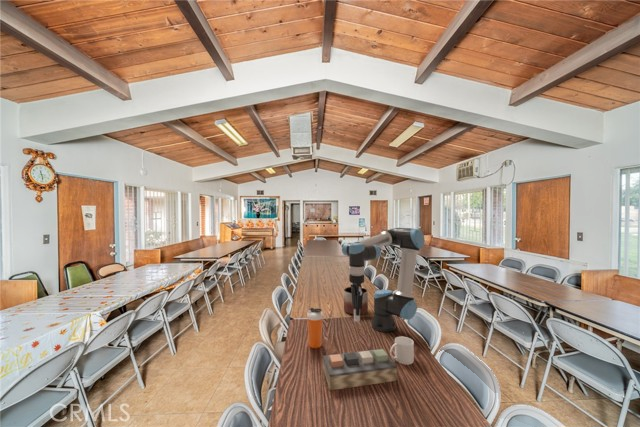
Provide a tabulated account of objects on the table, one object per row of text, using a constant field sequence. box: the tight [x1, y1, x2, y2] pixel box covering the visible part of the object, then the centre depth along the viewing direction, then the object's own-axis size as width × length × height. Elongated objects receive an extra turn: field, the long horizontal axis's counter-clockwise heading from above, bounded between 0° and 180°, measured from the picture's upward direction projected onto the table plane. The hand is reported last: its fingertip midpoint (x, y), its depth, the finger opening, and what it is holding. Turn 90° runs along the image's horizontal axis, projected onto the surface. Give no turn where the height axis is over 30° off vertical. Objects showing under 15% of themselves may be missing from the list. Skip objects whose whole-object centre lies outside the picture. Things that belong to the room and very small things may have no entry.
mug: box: [389, 335, 415, 366], centre depth 125 cm, size 12×9×9 cm
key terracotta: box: [328, 353, 343, 368], centre depth 111 cm, size 5×5×4 cm
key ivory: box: [358, 350, 373, 364], centre depth 114 cm, size 5×5×4 cm
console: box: [322, 348, 398, 391], centre depth 113 cm, size 30×14×6 cm, turn 101°
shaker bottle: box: [306, 307, 324, 349], centre depth 139 cm, size 9×9×20 cm
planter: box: [343, 286, 369, 316], centre depth 186 cm, size 18×18×16 cm
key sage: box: [372, 348, 389, 362], centre depth 115 cm, size 5×5×4 cm
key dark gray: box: [344, 351, 358, 366], centre depth 112 cm, size 5×5×4 cm
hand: (356, 320), depth 125 cm, fingers closed
